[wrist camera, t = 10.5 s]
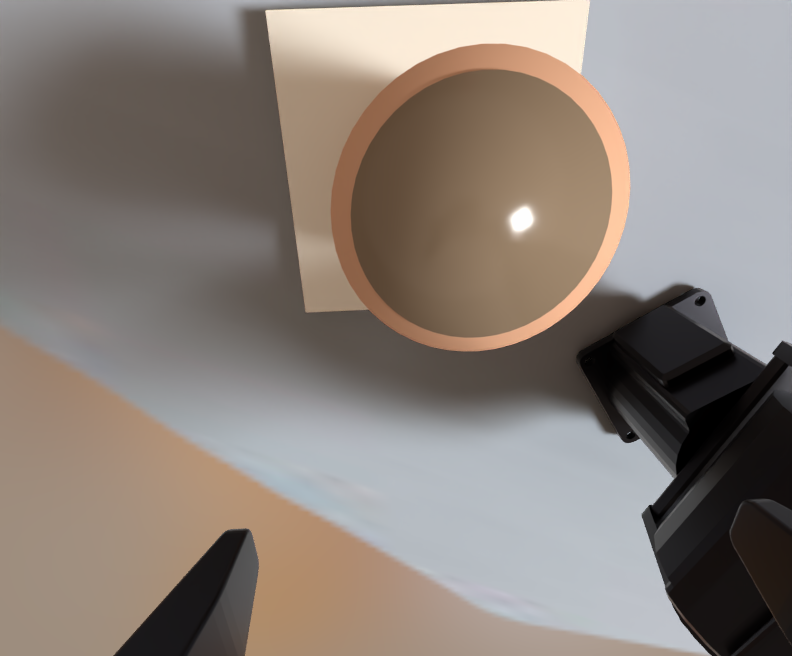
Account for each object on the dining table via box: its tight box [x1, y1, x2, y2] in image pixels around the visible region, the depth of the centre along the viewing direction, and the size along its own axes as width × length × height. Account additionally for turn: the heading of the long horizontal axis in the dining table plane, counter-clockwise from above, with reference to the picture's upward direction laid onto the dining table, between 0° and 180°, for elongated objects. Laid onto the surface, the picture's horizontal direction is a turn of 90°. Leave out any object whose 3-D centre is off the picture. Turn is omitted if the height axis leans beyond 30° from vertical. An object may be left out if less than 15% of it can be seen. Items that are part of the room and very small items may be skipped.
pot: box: [331, 44, 630, 351], centre depth 13 cm, size 6×6×9 cm
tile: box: [265, 0, 590, 313], centre depth 17 cm, size 11×11×1 cm
